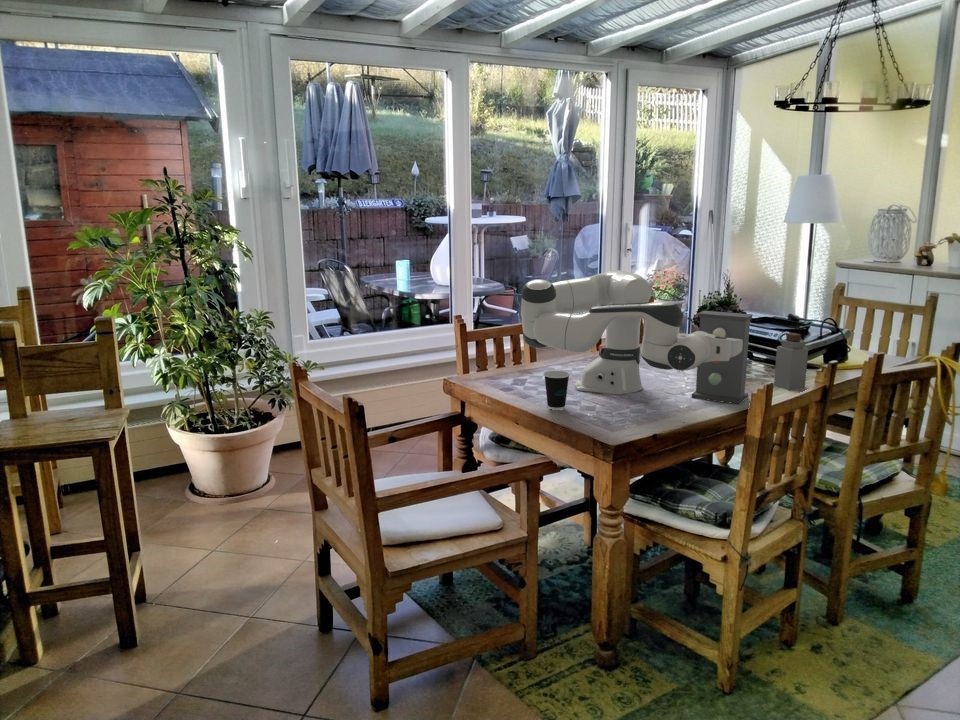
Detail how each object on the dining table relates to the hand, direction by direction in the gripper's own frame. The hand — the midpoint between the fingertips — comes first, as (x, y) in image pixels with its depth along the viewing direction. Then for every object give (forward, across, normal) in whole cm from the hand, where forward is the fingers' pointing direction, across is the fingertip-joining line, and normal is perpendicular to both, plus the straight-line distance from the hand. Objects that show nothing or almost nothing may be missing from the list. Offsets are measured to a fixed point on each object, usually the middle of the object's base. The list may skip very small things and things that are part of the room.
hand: (713, 338), depth 220 cm
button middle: (+6, 0, -8) cm, 10 cm away
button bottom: (+6, 0, -15) cm, 17 cm away
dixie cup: (-26, -39, -21) cm, 52 cm away
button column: (+12, 0, -21) cm, 24 cm away
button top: (+7, 0, -1) cm, 7 cm away
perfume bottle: (+36, +16, -21) cm, 45 cm away
